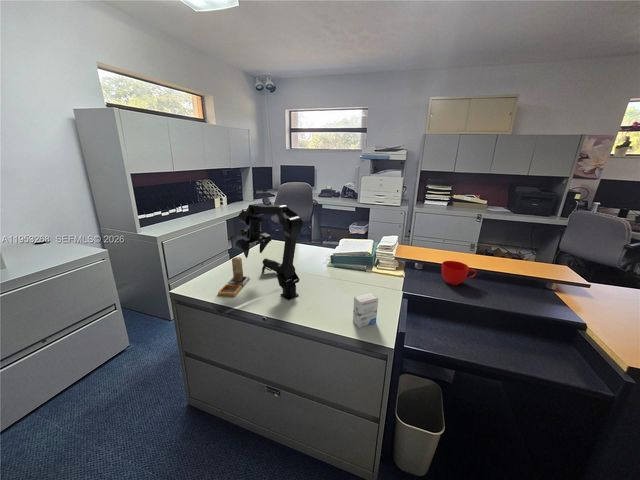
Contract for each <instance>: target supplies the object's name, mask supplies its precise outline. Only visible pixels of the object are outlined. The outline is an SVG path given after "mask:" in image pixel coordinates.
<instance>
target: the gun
mask: <svg viewBox="0 0 640 480" xmlns="http://www.w3.org/2000/svg"><path fill="white" fill-rule="evenodd" d="M261 264H262V265H263V266H262V268H261V273H265V271H266V270H267V271H270V272H271V271H273V272H275V273H276V272H277V266H278V265H280V264H281V263H280V262H278V261H276V260H273V259H269V258H264V259H263V260H262V263H261Z"/></svg>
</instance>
